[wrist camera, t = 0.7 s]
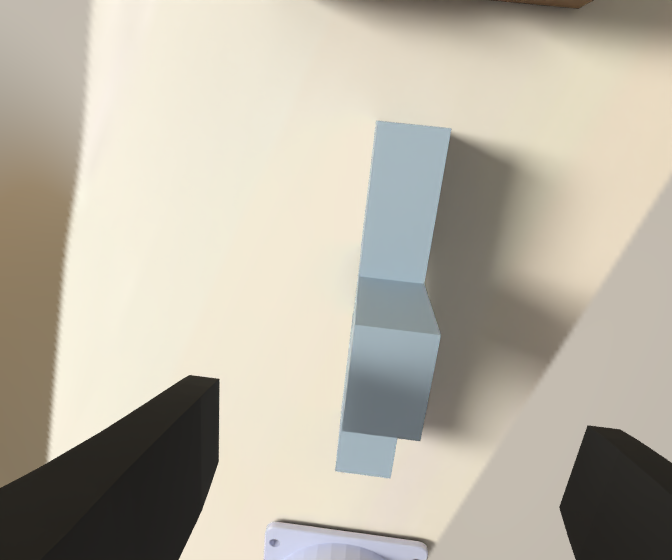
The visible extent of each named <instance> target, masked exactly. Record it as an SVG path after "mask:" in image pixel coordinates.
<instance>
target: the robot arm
mask: <svg viewBox="0 0 672 560" xmlns="http://www.w3.org/2000/svg"><path fill="white" fill-rule="evenodd" d="M218 462H219V379H216V378H208V377H200V376H192V375H189V376H187V377H185V378H184V379H182V380H180V381H179V382H177V383H176V384H174V385H173V386H171V387H170V388H168V389H167V390H165V391H163V392H162V393H160V394H159V395H157V396H156V397H154V398H153V399H151V400H150V401H148V402H147V403H145V404H144V405H142V406H141V407H139V408H138V409H136V410H134V411H133V412H131V413H130V414H128V415H127V416H125V417H123V418H122V419H120V420H119V421H117V422H116V423H114V424H112V425H111V426H109V427H108V428H106V429H105V430H103V431H101V432H100V433H98V434H96V435H95V436H93V437H91V438H89V439H88V440H86V441H84V442H83V443H81V444H79V445H77V446H76V447H74V448H72V449H71V450H69V451H67V452H65V453H64V454H62V455H60V456H59V457H57V458H55V459H53V460H52V461H50V462H48V463H47V464H45V465H43V466H41V467H39V468H38V469H36V470H34V471H32V472H30V473H28V474H27V475H25V476H23V477H21V478H19V479H17V480H15V481H13V482H11V483H9V484H8V485H5V486H3V487H1V488H0V560H179V558H180V556H181V554H182V551H183V549H184V547H185V545H186V543H187V541H188V539H189V537H190V535H191V532H192V530H193V528H194V526H195V524H196V522H197V520H198V518H199V515H200V513H201V511H202V508H203V506H204V503H205V500H206V497H207V494H208V492H209V489H210V486H211V483H212V480H213V477H214V474H215V471H216V468H217V465H218ZM560 511H561V515H562V518H563V521H564V525H565V528H566V531H567V535H568V538H569V541H570V544H571V547H572V550H573V553H574V555H575V559H576V560H672V463H671V462H670V461H668V460H667V459H665V458H664V457H662V456H661V455H659V454H658V453H656V452H655V451H653V450H652V449H651V448H649V447H648V446H646V445H644V444H643V443H641V442H640V441H638V440H637V439H635V438H634V437H632V436H630V435H628V434H627V433H625V432H623V431H622V430H620V429H612V428H604V427H596V426H587V429H586V432H585V435H584V438H583V440H582V443H581V446H580V449H579V452H578V455H577V458H576V461H575V464H574V466H573V469H572V472H571V475H570V478H569V481H568V484H567V487H566V490H565V492H564V495H563V498H562V501H561V504H560ZM274 539H276V540H274ZM427 558H428V550H427V546H426V545H425V544H424V543H423V542H419V541H413V540H406V539H399V538H392V537H384V536H377V535H370V534H363V533H355V532H348V531H341V530H333V529H326V528H319V527H312V526H304V525H297V524H290V523H283V522H272V523H269V524H268V525H267V528H266V532H265V546H264V560H427Z"/></svg>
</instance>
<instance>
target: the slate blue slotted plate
mask: <svg viewBox="0 0 672 560" xmlns="http://www.w3.org/2000/svg"><path fill="white" fill-rule="evenodd" d="M450 134H451V128H442V127H433V126H423V125H413V124H404V123H394V122H384V121H376V127H375V136H374V144H373V152H372V161H371V169H370V177H369V186H368V194H367V202H366V210H365V219H364V227H363V235H362V244H361V256H360V265H359V273H358V282H357V290H356V298H355V306H354V313H353V319H352V327H351V335H350V343H349V352H348V360H347V368H346V377H345V385H344V393H343V402H342V411H341V420H340V430H339V440H338V449H337V459H336V469H335V471H338V472H346V473H353V474H361V475H368V476H376V477H384V478H391V472H392V466H393V461H394V455H395V449H396V443H397V438H399V439H407V440H415V441H420V440H421V435H422V430H423V425H424V419H425V414H426V409H427V404H428V399H429V394H430V389H431V384H432V379H433V373H434V368H435V363H436V358H437V353H438V348H439V343H440V338H441V334H440V331H439V328H438V324H437V321H436V318H435V315H434V312H433V309H432V306H431V303H430V300H429V297H428V294H427V291H426V288H425V284H424V283H425V277H426V271H427V266H428V260H429V254H430V248H431V243H432V237H433V231H434V225H435V220H436V214H437V208H438V202H439V197H440V191H441V185H442V180H443V174H444V168H445V162H446V157H447V151H448V145H449V139H450Z"/></svg>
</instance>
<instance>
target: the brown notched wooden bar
mask: <svg viewBox="0 0 672 560" xmlns="http://www.w3.org/2000/svg"><path fill="white" fill-rule="evenodd" d="M493 1H504V2H514V3H525V4H536V5H547V6H558V7H568V8H580V7H582V6H584V5H586V4H588V3H590V2H591V1H593V0H493Z"/></svg>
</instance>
